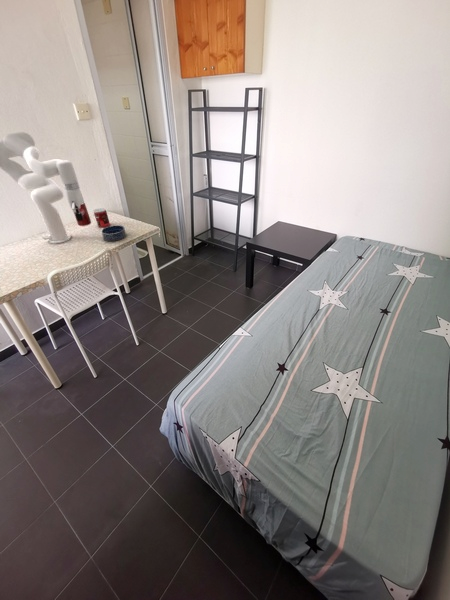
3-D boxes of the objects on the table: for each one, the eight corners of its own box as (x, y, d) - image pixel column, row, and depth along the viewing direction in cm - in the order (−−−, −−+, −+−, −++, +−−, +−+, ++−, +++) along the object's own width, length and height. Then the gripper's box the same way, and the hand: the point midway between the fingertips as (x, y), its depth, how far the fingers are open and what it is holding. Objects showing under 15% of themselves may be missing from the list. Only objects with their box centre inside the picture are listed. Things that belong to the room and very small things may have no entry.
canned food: (98, 224, 199) (93, 209, 193) (110, 222, 201) (105, 207, 194) (97, 228, 193) (92, 212, 187) (110, 226, 195) (105, 211, 189)
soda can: (86, 227, 162) (79, 206, 154) (75, 226, 163) (67, 205, 156) (93, 222, 167) (87, 201, 160) (83, 221, 168) (75, 201, 161)
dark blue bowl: (104, 243, 174) (102, 236, 171) (102, 235, 184) (100, 228, 181) (128, 238, 178) (126, 231, 175) (124, 231, 188) (122, 223, 185)
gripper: (70, 182, 159) (80, 213, 169) (58, 191, 145) (70, 224, 156) (83, 181, 159) (93, 212, 170) (73, 190, 145) (84, 223, 156)
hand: (82, 217), depth 163 cm, fingers closed on soda can, 7 cm apart
